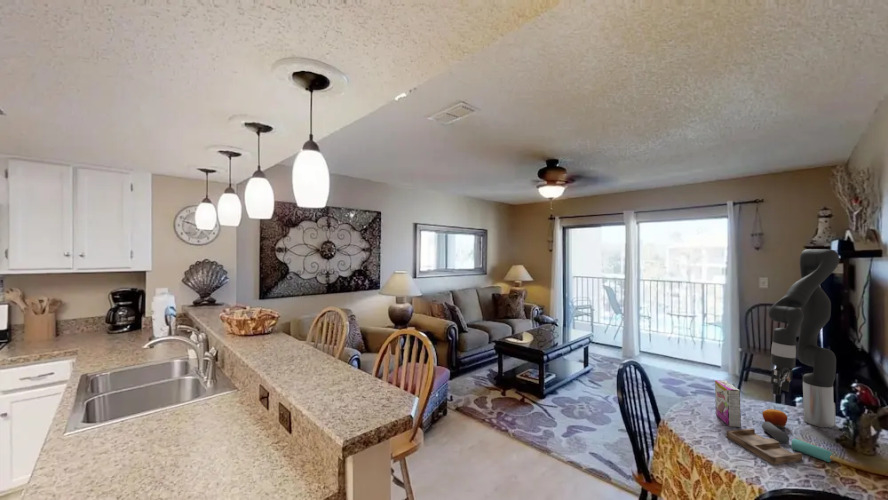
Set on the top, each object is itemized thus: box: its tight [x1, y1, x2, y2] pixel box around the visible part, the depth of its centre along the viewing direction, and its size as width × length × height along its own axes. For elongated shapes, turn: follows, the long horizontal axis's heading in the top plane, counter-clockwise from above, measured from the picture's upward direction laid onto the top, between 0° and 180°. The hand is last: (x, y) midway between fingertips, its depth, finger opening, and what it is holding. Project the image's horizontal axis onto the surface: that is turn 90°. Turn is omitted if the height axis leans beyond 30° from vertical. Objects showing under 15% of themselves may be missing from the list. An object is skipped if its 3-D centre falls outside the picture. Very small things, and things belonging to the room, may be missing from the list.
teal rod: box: [790, 438, 833, 463], centre depth 138 cm, size 10×4×4 cm, turn 27°
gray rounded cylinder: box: [761, 421, 790, 445], centre depth 151 cm, size 10×4×4 cm, turn 167°
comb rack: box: [726, 428, 803, 465], centre depth 143 cm, size 12×19×2 cm, turn 7°
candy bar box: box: [714, 379, 742, 428], centre depth 165 cm, size 11×5×16 cm, turn 168°
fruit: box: [762, 408, 788, 430], centre depth 159 cm, size 8×8×8 cm
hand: (780, 392), depth 153 cm, fingers open, 8 cm apart
